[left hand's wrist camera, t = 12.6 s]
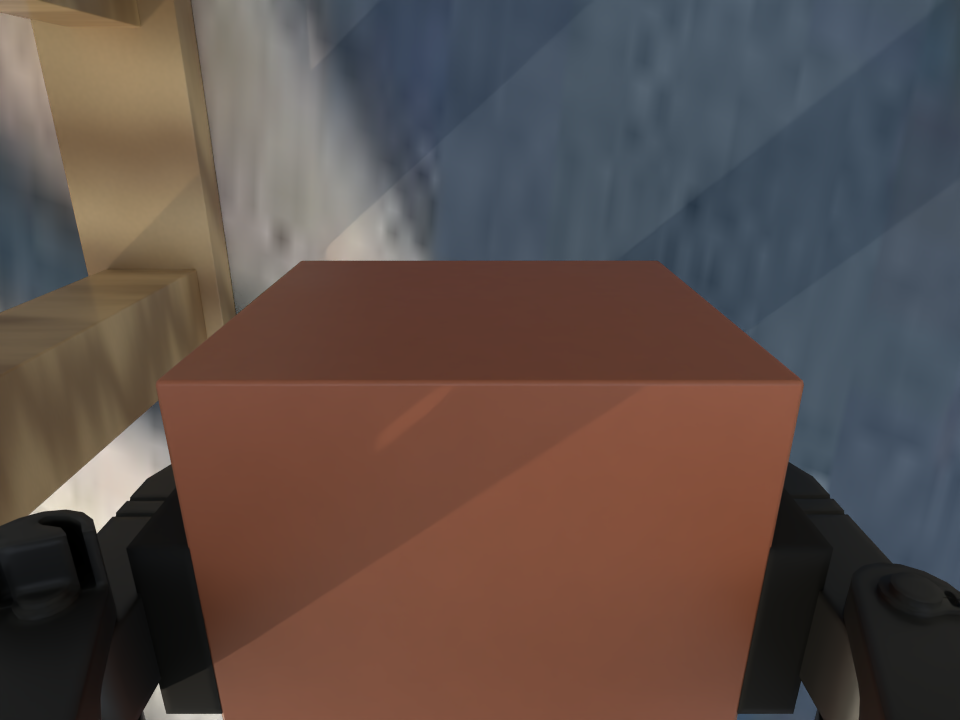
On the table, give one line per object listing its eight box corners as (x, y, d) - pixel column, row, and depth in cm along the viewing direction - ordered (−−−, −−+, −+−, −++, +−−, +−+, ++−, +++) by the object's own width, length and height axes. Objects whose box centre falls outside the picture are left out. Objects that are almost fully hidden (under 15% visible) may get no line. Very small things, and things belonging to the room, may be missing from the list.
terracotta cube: (628, 554, 15) (718, 819, 9) (330, 554, 15) (241, 819, 9) (659, 259, 12) (807, 381, 7) (300, 260, 12) (152, 380, 7)
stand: (245, 381, 39) (32, 623, 21) (132, 381, 39) (-184, 622, 21) (172, -128, 30) (-343, -537, 11) (23, -128, 30) (-740, -536, 11)
